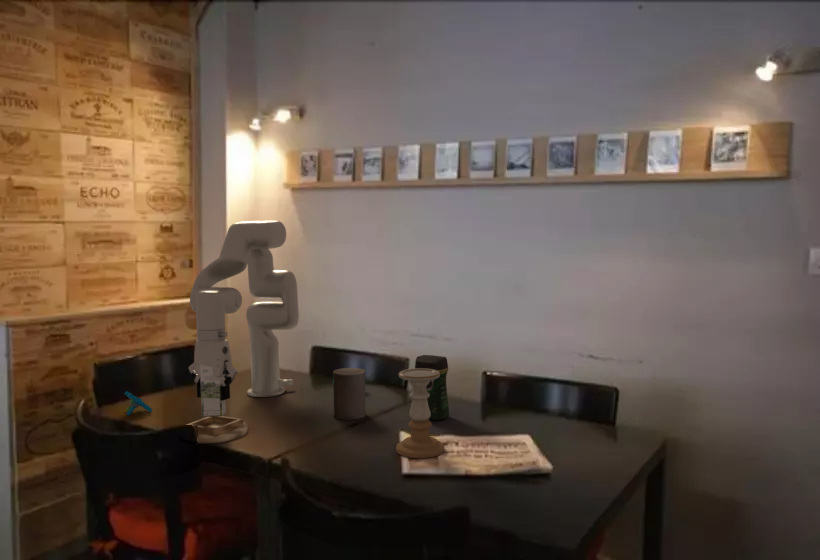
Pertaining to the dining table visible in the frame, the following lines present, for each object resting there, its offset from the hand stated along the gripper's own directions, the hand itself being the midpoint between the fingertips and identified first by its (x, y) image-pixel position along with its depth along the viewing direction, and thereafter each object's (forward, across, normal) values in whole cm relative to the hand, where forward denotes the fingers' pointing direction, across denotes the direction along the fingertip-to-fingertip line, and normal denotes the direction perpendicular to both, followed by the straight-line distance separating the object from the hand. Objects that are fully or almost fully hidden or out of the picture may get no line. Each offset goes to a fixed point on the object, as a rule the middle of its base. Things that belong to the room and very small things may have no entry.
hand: (213, 397), depth 192 cm
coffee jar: (+10, -49, -39) cm, 63 cm away
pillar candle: (+10, -26, -30) cm, 41 cm away
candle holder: (+10, -59, -10) cm, 61 cm away
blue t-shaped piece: (+10, +37, -6) cm, 39 cm away
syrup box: (+5, 0, 0) cm, 5 cm away
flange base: (+10, 0, 0) cm, 10 cm away
